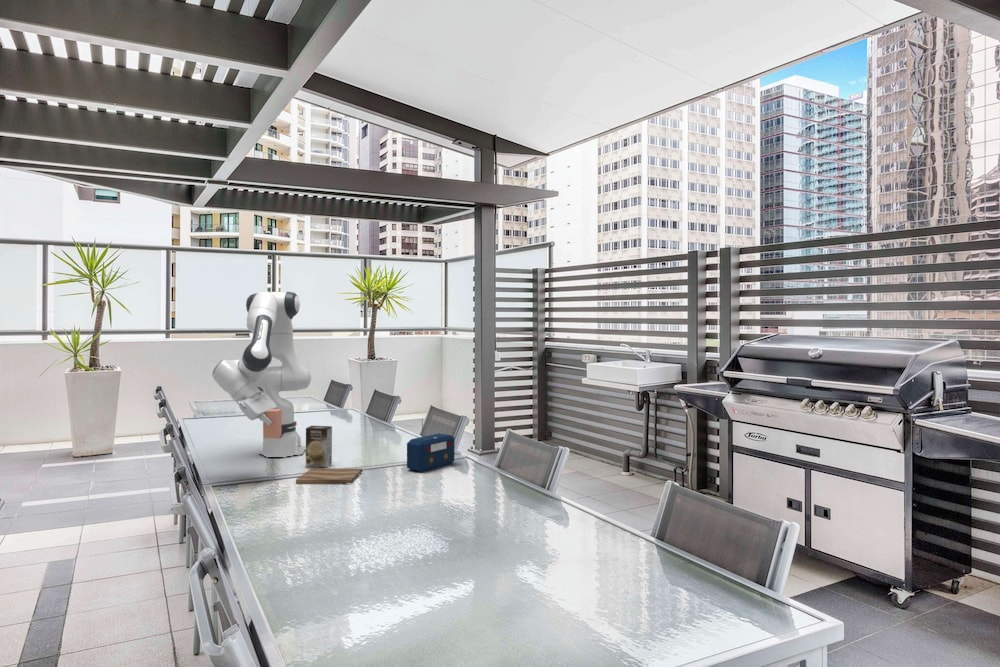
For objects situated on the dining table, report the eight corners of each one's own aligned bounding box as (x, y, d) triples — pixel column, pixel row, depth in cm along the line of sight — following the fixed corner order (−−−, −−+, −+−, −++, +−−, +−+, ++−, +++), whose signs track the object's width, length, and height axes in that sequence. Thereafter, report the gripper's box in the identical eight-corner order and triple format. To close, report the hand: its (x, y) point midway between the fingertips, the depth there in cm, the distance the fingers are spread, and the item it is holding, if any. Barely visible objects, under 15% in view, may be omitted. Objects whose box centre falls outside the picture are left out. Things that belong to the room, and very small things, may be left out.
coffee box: (304, 467, 257) (304, 428, 257) (311, 464, 264) (310, 425, 263) (326, 468, 256) (326, 428, 256) (332, 464, 263) (332, 425, 262)
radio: (421, 473, 247) (421, 422, 247) (405, 470, 253) (405, 420, 252) (457, 464, 264) (456, 415, 264) (441, 461, 269) (441, 413, 269)
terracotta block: (268, 435, 241) (268, 409, 241) (281, 435, 241) (281, 409, 241) (263, 438, 236) (263, 411, 236) (276, 438, 236) (276, 411, 236)
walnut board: (311, 472, 250) (311, 468, 250) (362, 472, 250) (362, 468, 250) (295, 483, 232) (295, 479, 232) (350, 484, 232) (350, 479, 232)
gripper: (242, 393, 228) (269, 421, 228) (264, 387, 249) (289, 412, 249) (229, 406, 228) (257, 433, 228) (252, 398, 249) (277, 424, 249)
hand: (274, 422), depth 239 cm, fingers closed on terracotta block, 5 cm apart
